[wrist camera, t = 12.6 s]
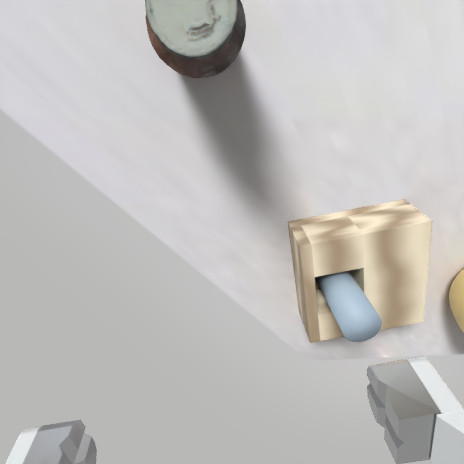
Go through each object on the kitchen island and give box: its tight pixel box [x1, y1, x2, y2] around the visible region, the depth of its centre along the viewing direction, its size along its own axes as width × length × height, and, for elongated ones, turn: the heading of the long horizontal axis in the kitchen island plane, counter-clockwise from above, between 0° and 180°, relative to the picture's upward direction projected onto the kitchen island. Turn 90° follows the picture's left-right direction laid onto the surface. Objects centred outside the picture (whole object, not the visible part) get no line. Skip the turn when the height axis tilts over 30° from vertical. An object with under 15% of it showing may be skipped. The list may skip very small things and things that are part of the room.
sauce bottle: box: [145, 0, 246, 78], centre depth 24 cm, size 7×6×20 cm
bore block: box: [288, 199, 432, 343], centre depth 43 cm, size 14×14×6 cm
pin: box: [315, 271, 382, 342], centre depth 40 cm, size 4×4×10 cm
